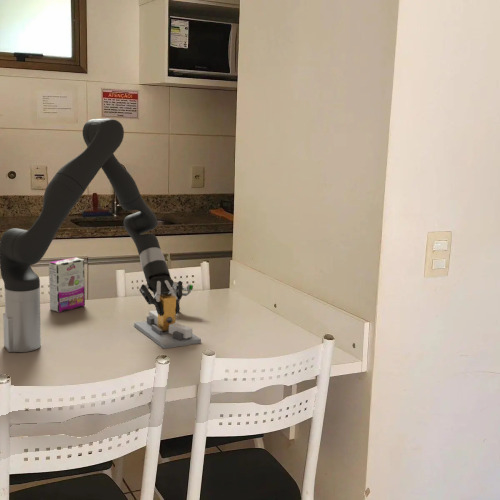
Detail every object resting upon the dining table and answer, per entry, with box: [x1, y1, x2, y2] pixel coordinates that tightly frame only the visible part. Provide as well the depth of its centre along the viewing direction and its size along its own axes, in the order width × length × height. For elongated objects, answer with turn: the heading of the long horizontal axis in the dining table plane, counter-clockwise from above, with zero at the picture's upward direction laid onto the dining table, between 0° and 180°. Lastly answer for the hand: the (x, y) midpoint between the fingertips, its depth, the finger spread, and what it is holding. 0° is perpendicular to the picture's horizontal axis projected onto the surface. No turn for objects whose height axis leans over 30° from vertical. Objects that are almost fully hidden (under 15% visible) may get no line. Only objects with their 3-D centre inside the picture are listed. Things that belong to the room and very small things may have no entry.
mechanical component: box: [172, 283, 194, 305], centre depth 227 cm, size 3×10×10 cm, turn 78°
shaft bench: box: [133, 309, 202, 349], centre depth 205 cm, size 12×22×4 cm, turn 32°
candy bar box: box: [48, 256, 86, 313], centre depth 225 cm, size 11×5×16 cm, turn 143°
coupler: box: [158, 294, 177, 331], centre depth 204 cm, size 4×5×10 cm
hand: (169, 313), depth 202 cm, fingers open, 4 cm apart
